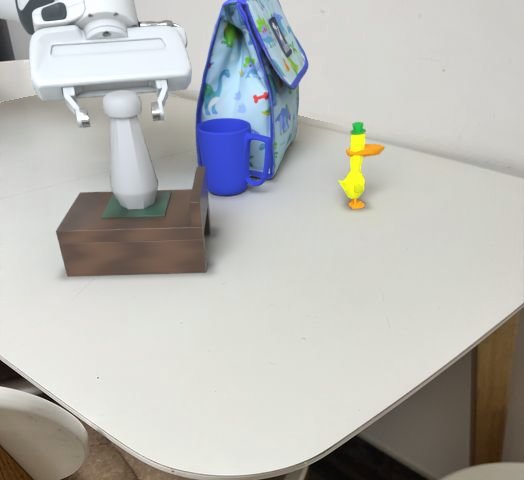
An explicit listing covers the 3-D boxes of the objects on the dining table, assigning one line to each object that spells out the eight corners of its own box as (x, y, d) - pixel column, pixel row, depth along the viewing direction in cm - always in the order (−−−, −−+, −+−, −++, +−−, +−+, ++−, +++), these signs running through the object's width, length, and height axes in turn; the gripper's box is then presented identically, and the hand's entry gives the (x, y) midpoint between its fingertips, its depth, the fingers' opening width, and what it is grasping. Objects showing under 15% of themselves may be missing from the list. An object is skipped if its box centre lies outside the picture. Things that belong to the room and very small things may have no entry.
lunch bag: (290, 182, 93) (292, -4, 78) (193, 177, 96) (176, -4, 80) (309, 141, 110) (313, -18, 95) (226, 138, 113) (217, -17, 98)
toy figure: (373, 198, 87) (381, 116, 80) (383, 207, 84) (392, 123, 77) (331, 204, 86) (336, 121, 78) (341, 213, 83) (346, 128, 76)
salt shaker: (130, 216, 68) (110, 101, 60) (105, 203, 72) (84, 93, 64) (170, 202, 71) (156, 91, 64) (144, 191, 75) (128, 84, 67)
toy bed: (67, 276, 70) (49, 206, 64) (89, 233, 79) (74, 169, 74) (206, 272, 70) (199, 202, 64) (211, 230, 79) (205, 166, 74)
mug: (257, 207, 85) (256, 139, 79) (191, 194, 90) (185, 129, 84) (283, 189, 91) (283, 124, 85) (219, 177, 96) (215, 115, 90)
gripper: (182, 36, 80) (200, 127, 78) (30, 46, 76) (45, 142, 74) (183, 2, 74) (203, 100, 72) (18, 11, 70) (34, 115, 68)
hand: (121, 121), depth 73 cm, fingers open, 8 cm apart
